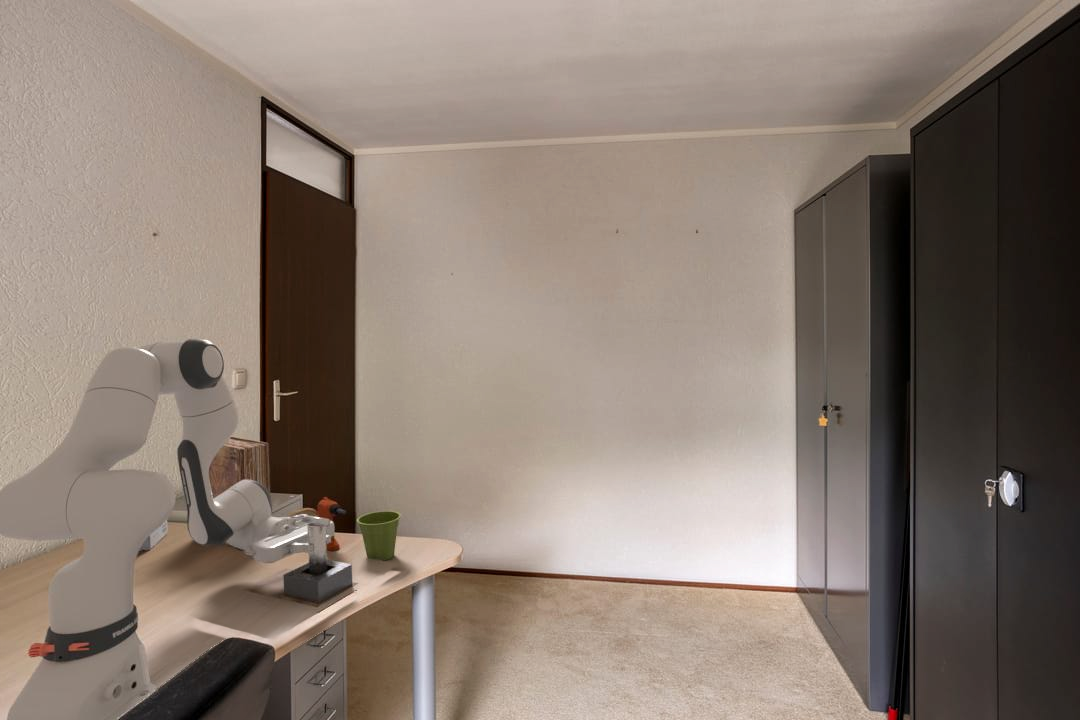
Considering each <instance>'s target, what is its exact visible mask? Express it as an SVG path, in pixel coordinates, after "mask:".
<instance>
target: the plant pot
mask: <svg viewBox="0 0 1080 720" xmlns="http://www.w3.org/2000/svg"><path fill="white" fill-rule="evenodd" d="M401 517H402V514H401V513H400V512H398V511H393V510H381V511H380V510H379V511H373V512H368V513H365V514H362V515H360V516H359V517H358V518H357V519H356V523H358V525H359V529H360V531H361V536H362V538H363V544H364V549H365V552H366V558H367V559H371V560H377V561H383V562H384V561H389V560H390V559H392V558H393V556H395V551H396V550H395V549H396V543H397V533H398V532H397V531H398V527H399V522H400V519H401Z"/></svg>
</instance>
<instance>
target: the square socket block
mask: <svg viewBox="0 0 1080 720" xmlns="http://www.w3.org/2000/svg"><path fill="white" fill-rule="evenodd" d="M291 570H292V571H290V572H288V573H286V574H284V575H283V578H284V596H286V597H290V598H295V599H299V600H303V601H308V602H312V603H316V604H320V603H322V602H323V601H325V600H327V599H328V598H330V597H332V596H334V595H335V594H337V593H339V592H341V591H342V590H344V589H346V588H348V587H349V586H351V585H352V582H353V566H352V563H347V562H341V561H336V560H330V559H327V572H325V573H323V574H321V575H319V576H316V575H311V574H309V562H308V563H305V564H303V565H301V566H298V567H297V568H295V569H291Z"/></svg>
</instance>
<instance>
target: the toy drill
mask: <svg viewBox="0 0 1080 720" xmlns="http://www.w3.org/2000/svg"><path fill="white" fill-rule="evenodd" d="M316 509H317V510H316V511H317V512H318V515H319V516H320V518H327V519H330V520H331V521H333V520H334V518H333V517H335V516H337V515H340V514H343V515H345V514H347V511H346V510H344V509H342V507H341V506H340V505H339V504H338V503H337V502H336V501H334V500H331V499H329V498H328V497H327V496H325V497H323V498H322V499H321V500H320V501H319V502H318V504H317V508H316ZM333 522H334V521H333ZM326 546H327V552H334V551H337V550H339V549H340V544H339V542H338V540H336V538H335V535H334V536H332V537H331V543H328V544H326Z"/></svg>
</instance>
